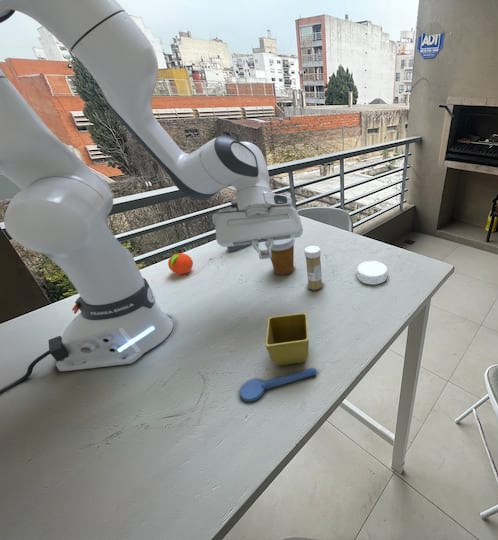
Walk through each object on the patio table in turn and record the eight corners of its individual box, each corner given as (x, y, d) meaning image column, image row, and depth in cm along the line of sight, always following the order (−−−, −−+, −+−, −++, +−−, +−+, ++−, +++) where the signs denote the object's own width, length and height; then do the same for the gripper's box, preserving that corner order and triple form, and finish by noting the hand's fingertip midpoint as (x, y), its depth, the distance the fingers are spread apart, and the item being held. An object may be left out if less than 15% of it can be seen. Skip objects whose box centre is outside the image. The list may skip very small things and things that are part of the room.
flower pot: (312, 368, 63) (308, 340, 58) (271, 374, 62) (264, 346, 57) (309, 339, 71) (306, 312, 66) (273, 344, 69) (267, 316, 64)
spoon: (241, 404, 56) (239, 400, 55) (241, 385, 59) (239, 380, 59) (318, 381, 61) (318, 376, 60) (314, 364, 64) (313, 360, 63)
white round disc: (380, 266, 100) (380, 258, 98) (391, 282, 92) (392, 273, 90) (353, 271, 97) (353, 262, 95) (362, 287, 89) (362, 278, 87)
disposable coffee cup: (302, 272, 96) (299, 240, 90) (275, 280, 92) (269, 248, 85) (291, 260, 103) (287, 229, 97) (265, 267, 98) (259, 236, 92)
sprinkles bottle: (305, 285, 90) (301, 248, 82) (317, 280, 92) (314, 243, 85) (313, 292, 87) (310, 254, 80) (325, 286, 90) (323, 249, 82)
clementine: (187, 280, 91) (179, 261, 88) (165, 279, 92) (157, 260, 88) (199, 267, 98) (193, 249, 94) (179, 266, 98) (172, 248, 94)
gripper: (208, 204, 65) (216, 261, 63) (297, 196, 71) (308, 248, 69) (214, 215, 71) (221, 268, 69) (295, 207, 77) (305, 255, 75)
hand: (265, 258), depth 69 cm, fingers closed
